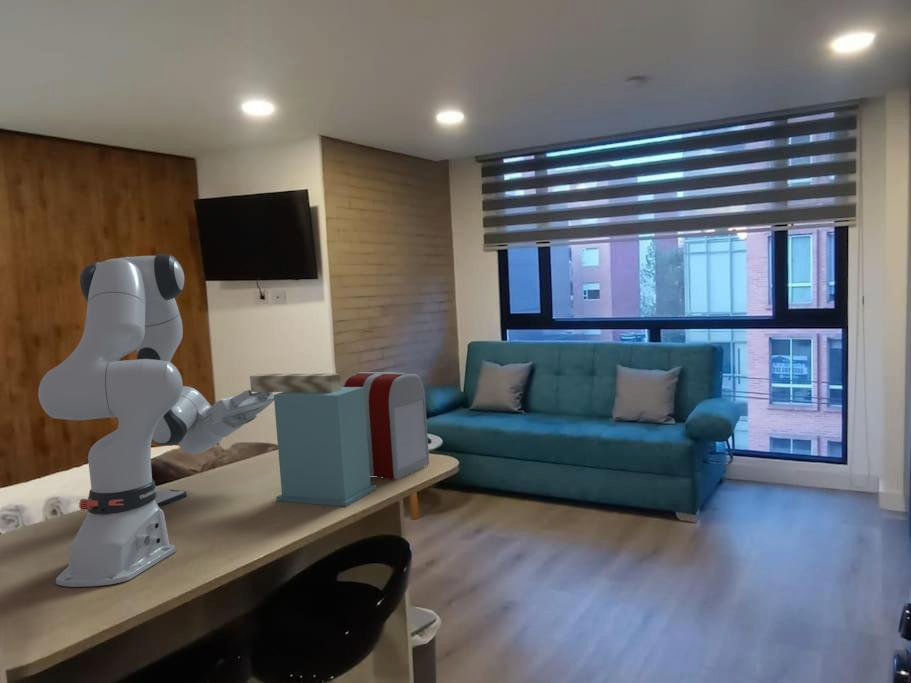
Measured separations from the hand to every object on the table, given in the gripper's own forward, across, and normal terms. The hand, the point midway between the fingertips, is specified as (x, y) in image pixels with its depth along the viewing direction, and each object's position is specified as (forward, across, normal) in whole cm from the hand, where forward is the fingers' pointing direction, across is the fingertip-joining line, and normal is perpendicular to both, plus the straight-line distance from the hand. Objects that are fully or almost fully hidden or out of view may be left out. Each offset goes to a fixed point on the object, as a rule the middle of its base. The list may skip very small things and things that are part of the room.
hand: (261, 389), depth 180 cm
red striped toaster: (+5, +25, +33) cm, 42 cm away
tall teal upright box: (+2, 0, +31) cm, 31 cm away
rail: (+9, 0, +5) cm, 10 cm away
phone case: (-34, -16, +11) cm, 39 cm away
